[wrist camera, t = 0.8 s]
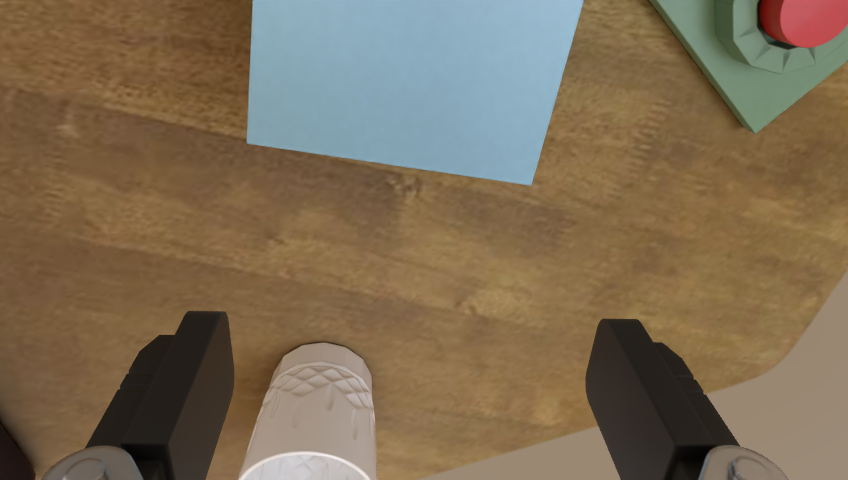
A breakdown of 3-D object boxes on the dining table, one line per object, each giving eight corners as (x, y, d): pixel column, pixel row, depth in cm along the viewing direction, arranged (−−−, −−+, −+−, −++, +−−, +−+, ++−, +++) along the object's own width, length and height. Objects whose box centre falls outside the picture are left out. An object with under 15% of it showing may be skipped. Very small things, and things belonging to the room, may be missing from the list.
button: (744, 2, 28) (765, 7, 27) (812, -57, 27) (838, -56, 26) (781, 56, 30) (802, 64, 28) (847, 2, 29) (872, 7, 27)
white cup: (255, 409, 42) (220, 537, 34) (279, 322, 39) (247, 439, 30) (362, 430, 44) (356, 558, 35) (394, 348, 40) (396, 468, 32)
